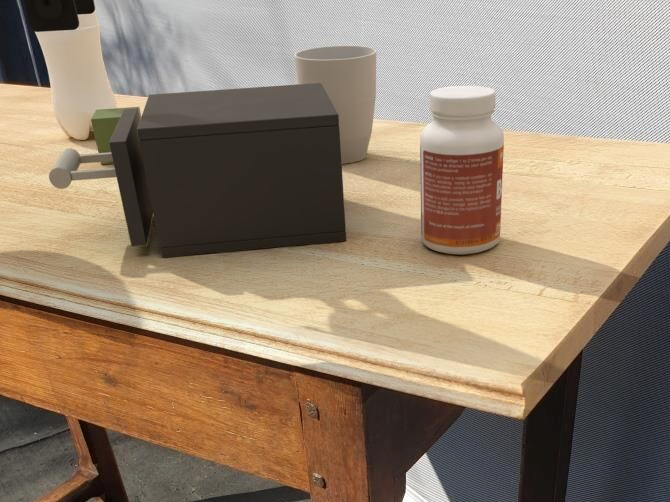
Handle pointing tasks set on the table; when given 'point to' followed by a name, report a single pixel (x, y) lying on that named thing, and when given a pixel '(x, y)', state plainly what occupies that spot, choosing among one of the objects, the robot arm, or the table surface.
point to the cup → (345, 91)
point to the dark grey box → (243, 168)
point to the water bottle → (77, 75)
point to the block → (106, 127)
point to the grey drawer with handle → (115, 174)
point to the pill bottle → (461, 171)
